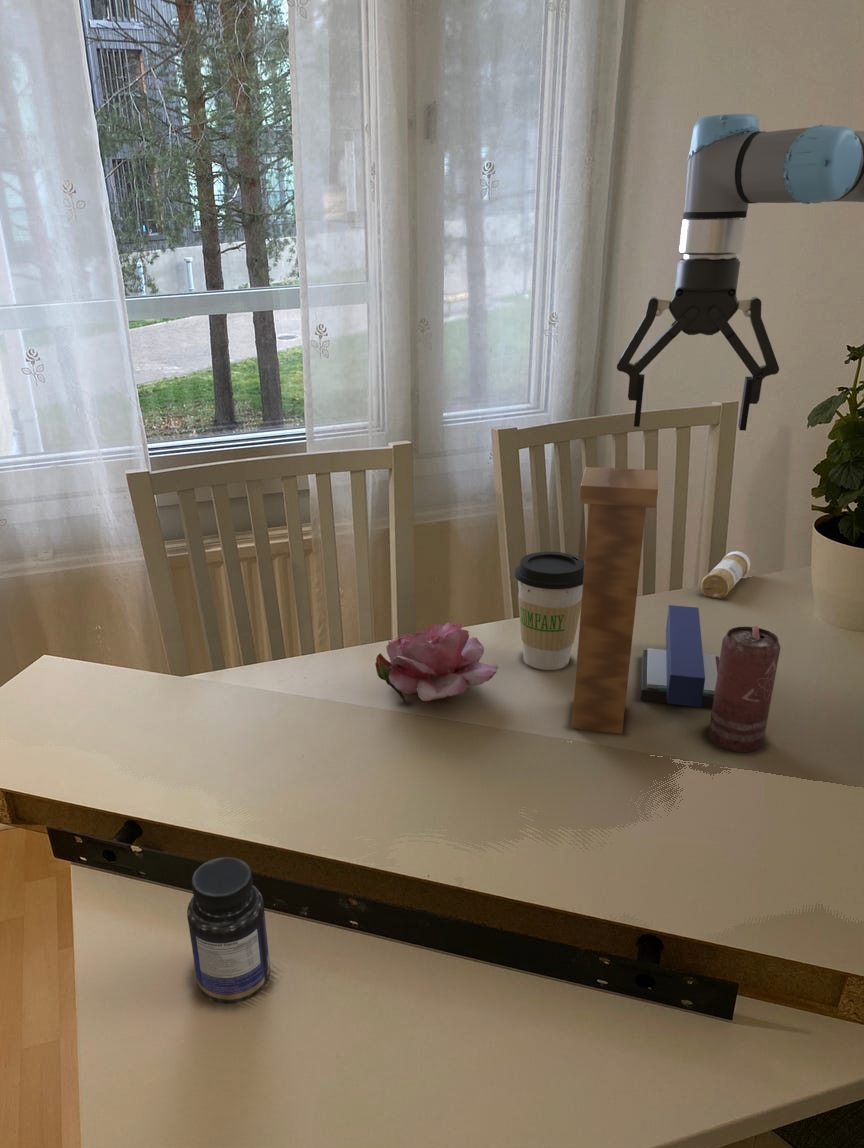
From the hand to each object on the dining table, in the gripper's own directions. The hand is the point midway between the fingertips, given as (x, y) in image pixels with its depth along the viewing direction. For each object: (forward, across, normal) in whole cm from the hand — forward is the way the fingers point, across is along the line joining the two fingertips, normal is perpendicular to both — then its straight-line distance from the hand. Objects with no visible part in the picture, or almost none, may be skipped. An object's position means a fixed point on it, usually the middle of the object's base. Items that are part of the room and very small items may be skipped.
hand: (688, 426), depth 123 cm
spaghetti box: (+28, -2, +16) cm, 32 cm away
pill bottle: (+31, +35, +79) cm, 92 cm away
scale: (+31, -2, +17) cm, 35 cm away
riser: (+31, +8, +29) cm, 43 cm away
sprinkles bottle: (+28, -8, -14) cm, 33 cm away
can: (+31, -8, +30) cm, 44 cm away
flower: (+31, +29, +27) cm, 50 cm away
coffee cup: (+31, +16, +14) cm, 38 cm away
